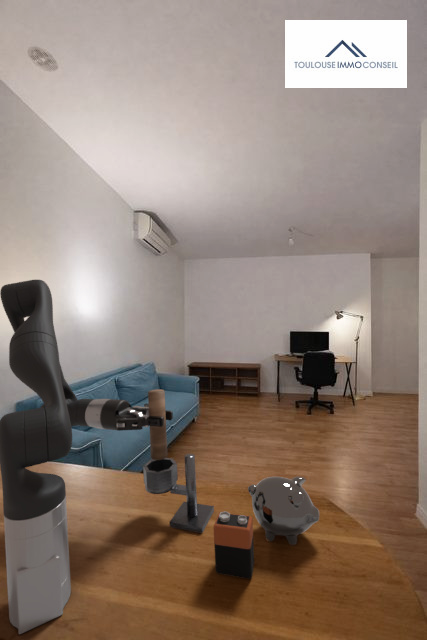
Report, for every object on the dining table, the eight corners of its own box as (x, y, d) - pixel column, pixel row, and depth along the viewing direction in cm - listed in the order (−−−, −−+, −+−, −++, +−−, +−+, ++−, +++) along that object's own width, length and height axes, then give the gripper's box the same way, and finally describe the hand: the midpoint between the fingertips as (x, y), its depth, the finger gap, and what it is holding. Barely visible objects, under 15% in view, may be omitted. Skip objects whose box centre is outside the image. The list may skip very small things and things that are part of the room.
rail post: (169, 457, 75) (167, 391, 74) (153, 461, 73) (151, 394, 72) (163, 451, 78) (161, 388, 78) (148, 455, 76) (145, 391, 76)
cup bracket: (140, 521, 73) (136, 458, 73) (156, 501, 80) (153, 444, 80) (202, 533, 68) (199, 465, 68) (213, 511, 75) (210, 450, 75)
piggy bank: (320, 560, 59) (317, 501, 59) (244, 544, 64) (241, 489, 64) (320, 522, 69) (318, 472, 69) (255, 511, 74) (253, 464, 74)
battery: (220, 556, 61) (218, 506, 61) (254, 561, 59) (252, 510, 59) (215, 574, 57) (212, 521, 57) (251, 581, 55) (249, 525, 55)
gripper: (88, 407, 73) (152, 412, 67) (124, 392, 86) (179, 395, 81) (90, 439, 73) (154, 446, 68) (125, 419, 86) (180, 423, 81)
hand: (167, 418), depth 74 cm, fingers closed on rail post, 4 cm apart
